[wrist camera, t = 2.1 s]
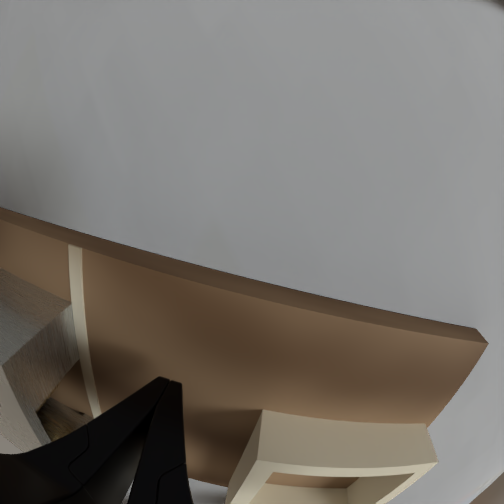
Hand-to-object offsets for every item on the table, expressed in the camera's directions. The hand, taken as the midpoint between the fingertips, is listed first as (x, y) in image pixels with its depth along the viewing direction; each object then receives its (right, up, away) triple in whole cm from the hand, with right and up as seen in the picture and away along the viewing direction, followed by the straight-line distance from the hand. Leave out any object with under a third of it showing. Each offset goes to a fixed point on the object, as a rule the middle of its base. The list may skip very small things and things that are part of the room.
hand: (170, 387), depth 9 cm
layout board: (-5, -1, +4) cm, 6 cm away
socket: (+6, -6, +3) cm, 9 cm away
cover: (-9, -1, +3) cm, 9 cm away
